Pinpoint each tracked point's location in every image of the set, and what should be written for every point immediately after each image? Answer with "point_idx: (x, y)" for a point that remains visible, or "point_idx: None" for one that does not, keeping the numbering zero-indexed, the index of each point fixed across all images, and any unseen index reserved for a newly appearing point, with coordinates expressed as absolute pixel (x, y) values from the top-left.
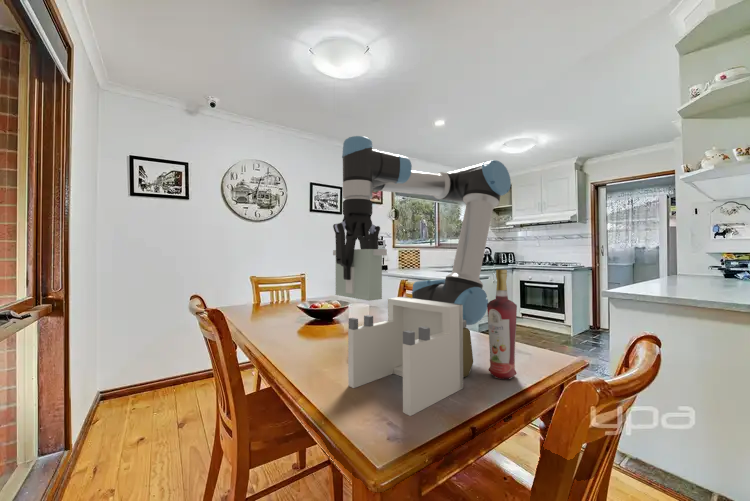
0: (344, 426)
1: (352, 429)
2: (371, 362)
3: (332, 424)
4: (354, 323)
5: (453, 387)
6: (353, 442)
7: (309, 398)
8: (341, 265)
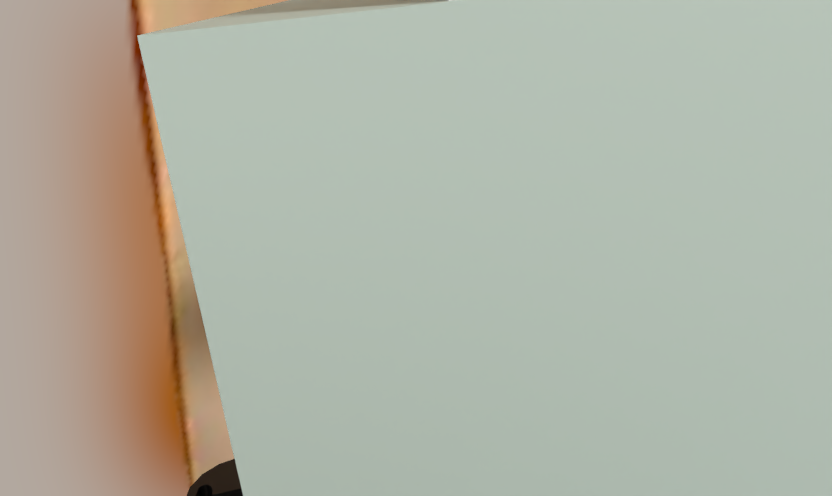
0: (206, 398)
1: (222, 423)
2: None
3: (176, 369)
4: None
5: None
6: (195, 474)
7: (162, 151)
8: (209, 486)
